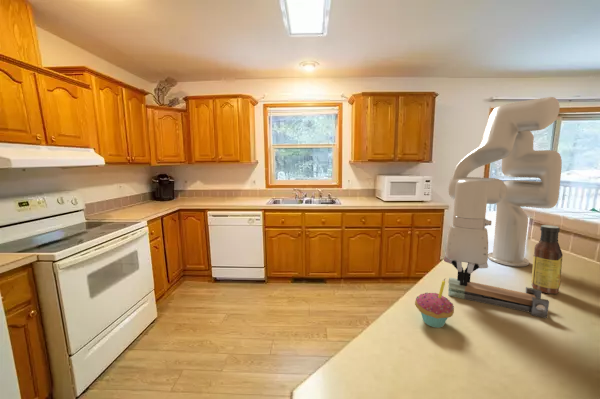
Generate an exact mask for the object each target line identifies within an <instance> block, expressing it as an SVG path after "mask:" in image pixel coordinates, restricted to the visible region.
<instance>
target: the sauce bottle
mask: <svg viewBox="0 0 600 399" xmlns="http://www.w3.org/2000/svg"><path fill="white" fill-rule="evenodd" d="M539 230H540V237H539V238H540V239H539V241H538V242H537V243H535V246H534V254H533V259H532V270H531V271H532V272H531V281H530V282H531V288H534V289H539V290H541V291H542V292H541V293H545V294H552V295H555V294H559V291H560V288H561V287H560V286H561V276H562V268H563V267H562V266H563V256H564V255H563V254H564V253H563V252H562V250H561V247H560V243H559V233H560V232H561V231H560V227H559V226H557V225H549V224H542V225H540V228H539Z"/></svg>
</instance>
